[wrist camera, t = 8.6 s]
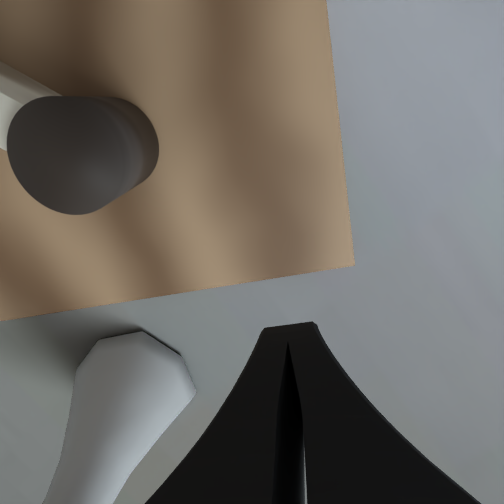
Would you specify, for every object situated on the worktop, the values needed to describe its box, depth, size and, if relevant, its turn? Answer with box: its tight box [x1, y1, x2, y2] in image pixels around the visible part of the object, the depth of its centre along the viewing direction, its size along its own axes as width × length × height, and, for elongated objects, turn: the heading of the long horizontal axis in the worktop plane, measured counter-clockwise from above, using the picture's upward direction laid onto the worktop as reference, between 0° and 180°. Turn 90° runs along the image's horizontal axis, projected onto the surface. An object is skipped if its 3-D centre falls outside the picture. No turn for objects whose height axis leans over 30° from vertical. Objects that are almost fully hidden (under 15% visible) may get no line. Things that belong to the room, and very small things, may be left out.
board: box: [0, 0, 355, 321], centre depth 16 cm, size 20×20×1 cm
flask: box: [42, 331, 197, 504], centre depth 19 cm, size 7×7×10 cm
